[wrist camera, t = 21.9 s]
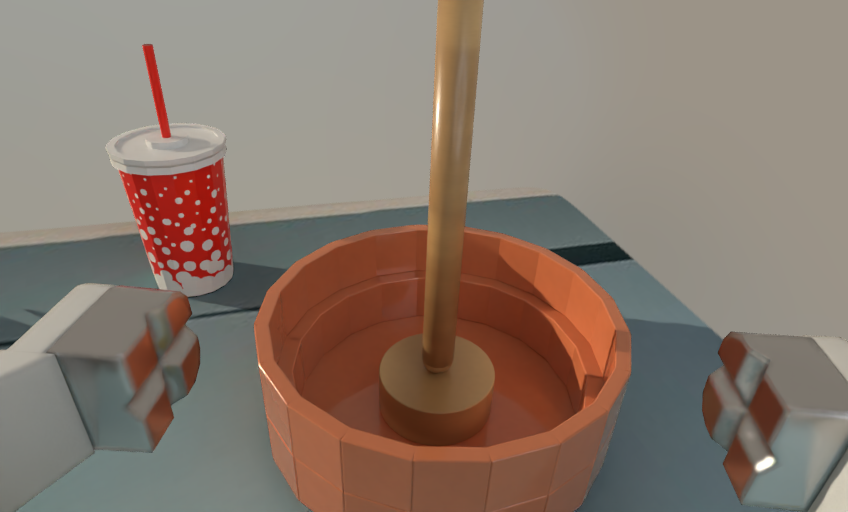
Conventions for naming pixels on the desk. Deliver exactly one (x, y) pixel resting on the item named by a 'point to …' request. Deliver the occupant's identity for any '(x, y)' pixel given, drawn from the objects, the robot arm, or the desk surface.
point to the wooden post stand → (444, 262)
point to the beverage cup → (177, 196)
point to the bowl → (476, 322)
